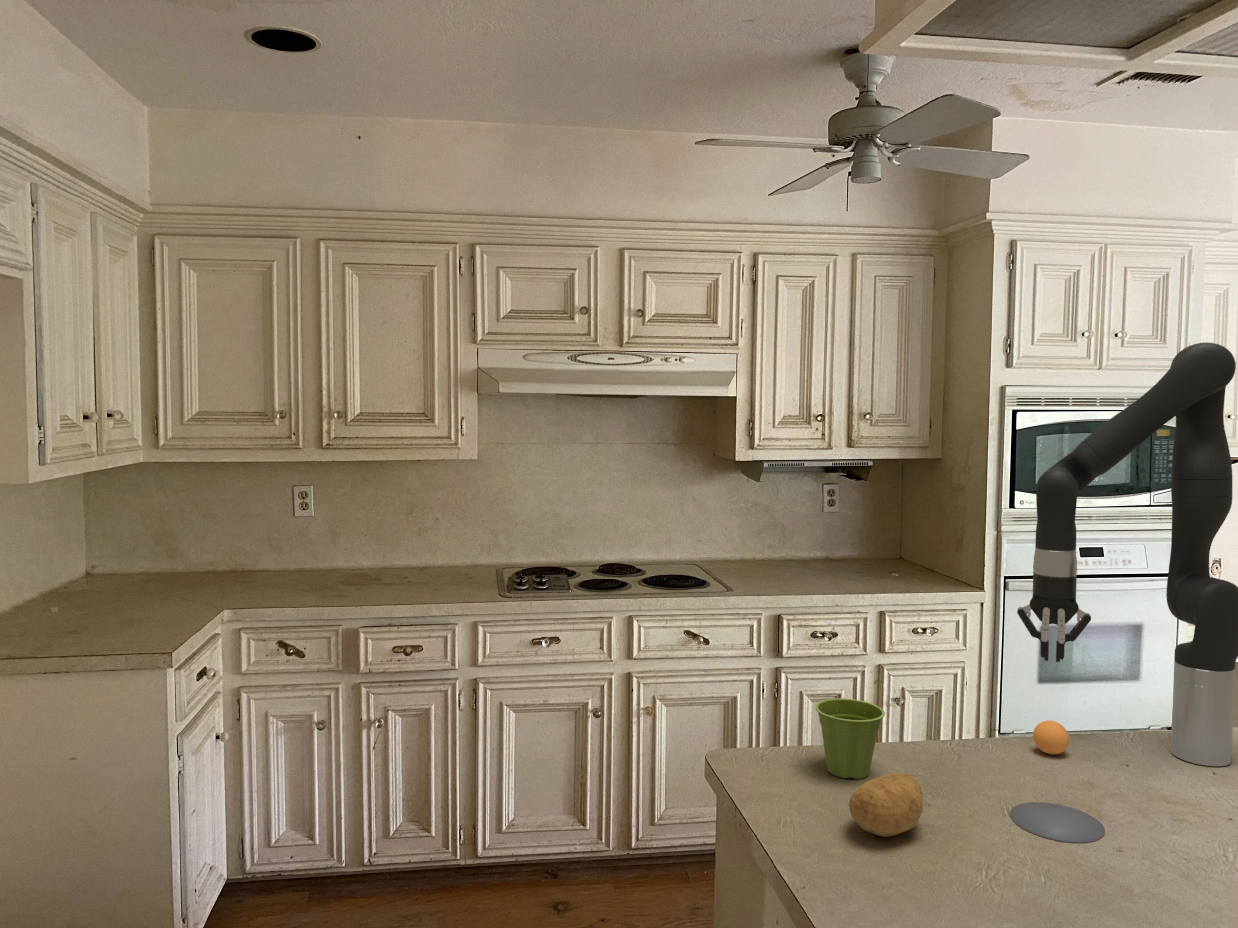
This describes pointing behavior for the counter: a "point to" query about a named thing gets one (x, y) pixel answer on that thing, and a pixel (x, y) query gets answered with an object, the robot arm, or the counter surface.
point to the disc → (1057, 822)
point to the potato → (887, 804)
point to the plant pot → (849, 735)
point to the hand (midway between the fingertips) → (1052, 660)
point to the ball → (1051, 737)
